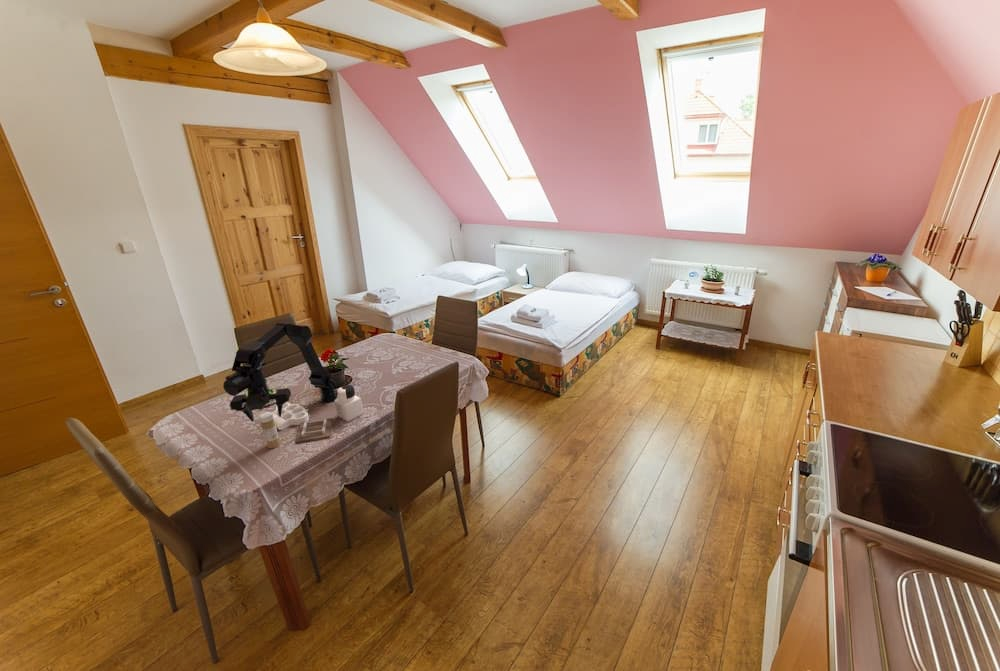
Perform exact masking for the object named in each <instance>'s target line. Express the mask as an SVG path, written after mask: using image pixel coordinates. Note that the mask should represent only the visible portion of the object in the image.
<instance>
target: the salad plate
mask: <svg viewBox="0 0 1000 671" xmlns="http://www.w3.org/2000/svg"><path fill="white" fill-rule="evenodd" d="M268 389H269V394H275V393H277V390H278V389H283V388H282V387H280V386H274V387H268ZM244 394H245V395H246V396H248V391H247V389H245V390H244ZM244 394H243V395H244ZM276 403H277V402H276V399H271V400H270V401H269V403H268V404H266V405H264V407H268V406H271V405H273V404H276Z"/></svg>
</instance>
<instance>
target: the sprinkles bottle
mask: <svg viewBox="0 0 1000 671" xmlns="http://www.w3.org/2000/svg"><path fill="white" fill-rule="evenodd" d="M258 420H259V422H260V424H261V430H262V432H263V436H264V439H265V441H266V446H267V448H269V449H274V448H275V449H276V448H277V447H279V446H280V445H281V440H280V436H279V434H278V428H276V426H275V423H274V419H273V414H272V411H267V412H262V413H261V414H259V416H258Z"/></svg>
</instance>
